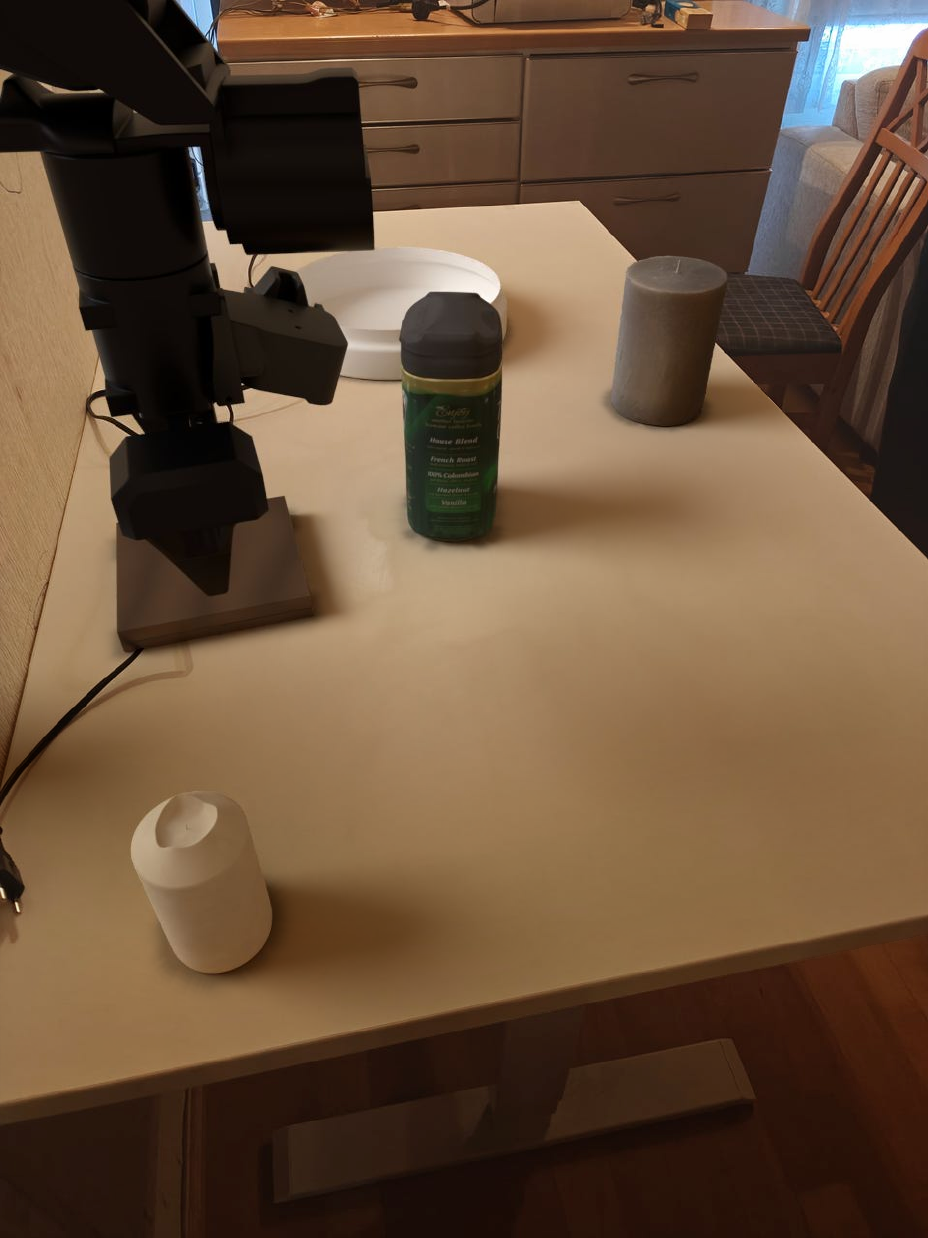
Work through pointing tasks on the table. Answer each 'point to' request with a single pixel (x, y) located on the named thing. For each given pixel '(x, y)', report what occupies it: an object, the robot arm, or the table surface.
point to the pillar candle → (667, 339)
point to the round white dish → (389, 298)
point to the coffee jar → (451, 414)
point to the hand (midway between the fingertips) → (209, 542)
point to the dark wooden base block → (178, 610)
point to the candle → (204, 880)
